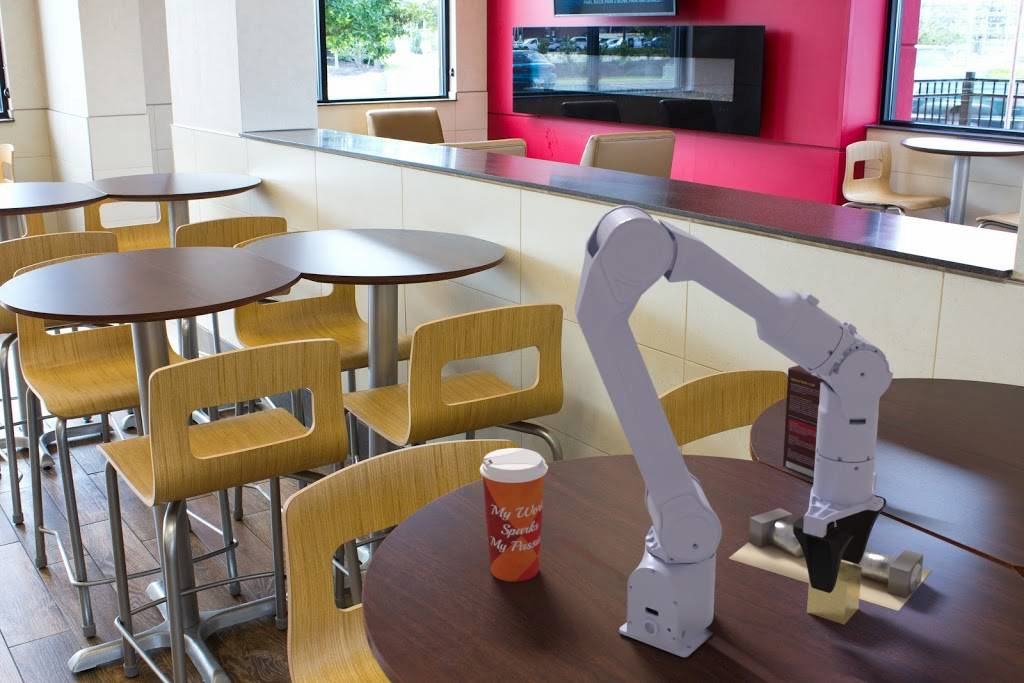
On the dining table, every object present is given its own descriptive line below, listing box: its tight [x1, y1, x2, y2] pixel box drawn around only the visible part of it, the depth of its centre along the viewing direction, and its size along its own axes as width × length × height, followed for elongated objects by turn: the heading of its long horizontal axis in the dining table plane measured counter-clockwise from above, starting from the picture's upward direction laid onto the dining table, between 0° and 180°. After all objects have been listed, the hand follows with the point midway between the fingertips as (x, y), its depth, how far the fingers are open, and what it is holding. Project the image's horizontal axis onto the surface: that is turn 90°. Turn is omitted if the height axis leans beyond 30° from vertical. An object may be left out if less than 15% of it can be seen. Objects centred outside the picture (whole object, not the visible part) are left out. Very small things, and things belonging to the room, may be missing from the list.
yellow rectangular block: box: [806, 562, 862, 625], centre depth 107 cm, size 4×4×6 cm
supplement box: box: [782, 364, 829, 479], centre depth 142 cm, size 9×5×16 cm, turn 34°
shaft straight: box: [853, 548, 921, 592], centre depth 113 cm, size 6×3×3 cm, turn 51°
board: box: [727, 507, 932, 612], centre depth 117 cm, size 11×20×4 cm, turn 51°
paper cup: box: [479, 447, 549, 583], centre depth 117 cm, size 8×8×14 cm
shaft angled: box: [768, 520, 805, 558], centre depth 121 cm, size 6×3×3 cm, turn 31°
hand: (836, 574), depth 106 cm, fingers open, 7 cm apart
